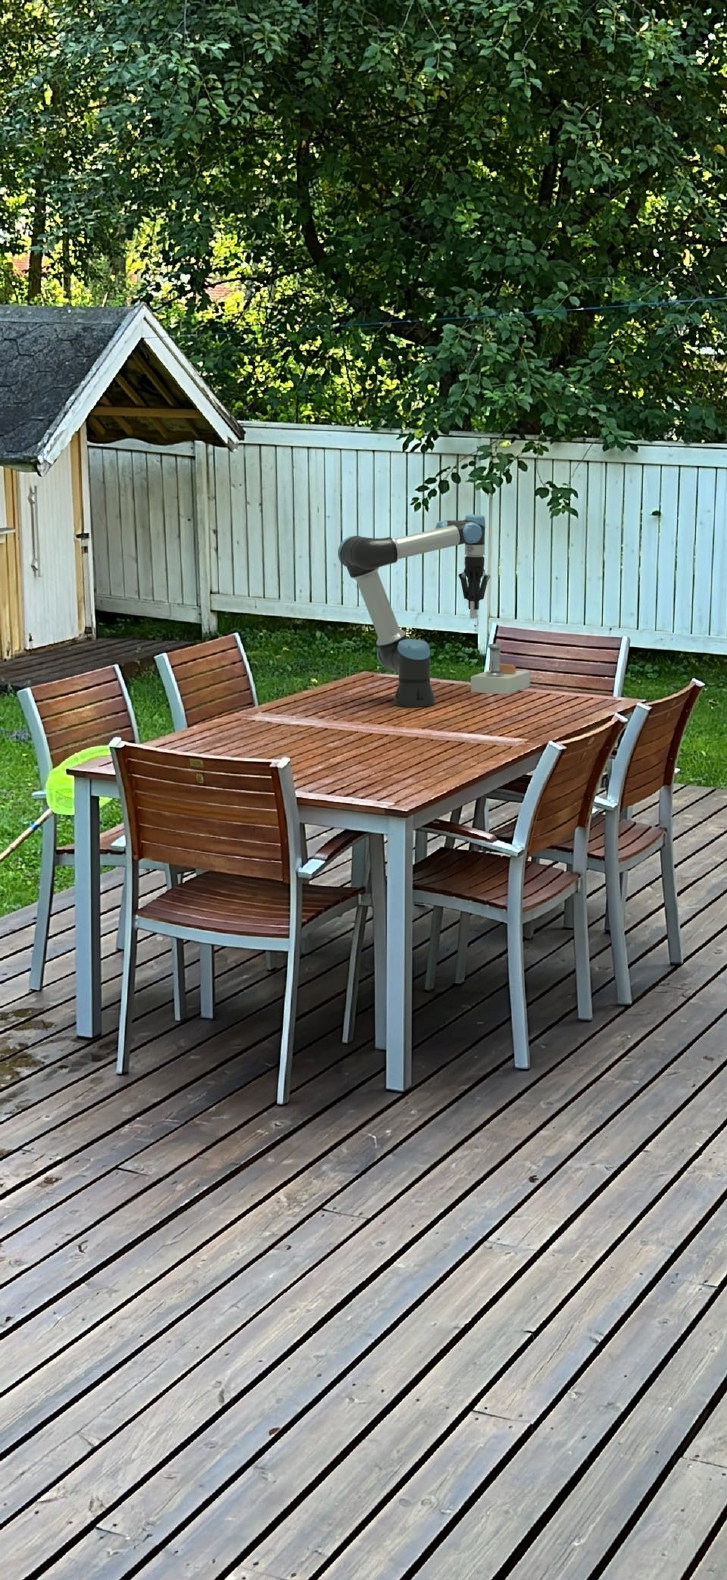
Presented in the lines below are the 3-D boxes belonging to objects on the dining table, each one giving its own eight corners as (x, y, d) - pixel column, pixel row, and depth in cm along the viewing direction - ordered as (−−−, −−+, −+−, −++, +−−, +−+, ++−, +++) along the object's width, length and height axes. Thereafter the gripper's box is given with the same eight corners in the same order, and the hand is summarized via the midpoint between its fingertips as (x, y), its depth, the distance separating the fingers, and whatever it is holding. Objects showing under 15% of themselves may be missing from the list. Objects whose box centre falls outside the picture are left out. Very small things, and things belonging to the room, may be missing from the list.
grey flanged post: (483, 684, 687) (483, 645, 684) (490, 681, 693) (490, 643, 690) (499, 685, 684) (499, 646, 681) (506, 682, 690) (506, 643, 687)
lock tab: (487, 671, 697) (487, 663, 696) (493, 670, 699) (493, 662, 699) (511, 673, 689) (511, 666, 689) (516, 672, 692) (516, 664, 691)
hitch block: (470, 692, 689) (470, 676, 688) (492, 684, 706) (492, 669, 705) (509, 694, 681) (509, 678, 680) (530, 686, 699) (529, 671, 697)
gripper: (454, 555, 680) (453, 617, 685) (484, 557, 673) (483, 620, 677) (465, 554, 686) (463, 616, 691) (494, 556, 679) (493, 618, 684)
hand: (473, 618), depth 684 cm, fingers closed
